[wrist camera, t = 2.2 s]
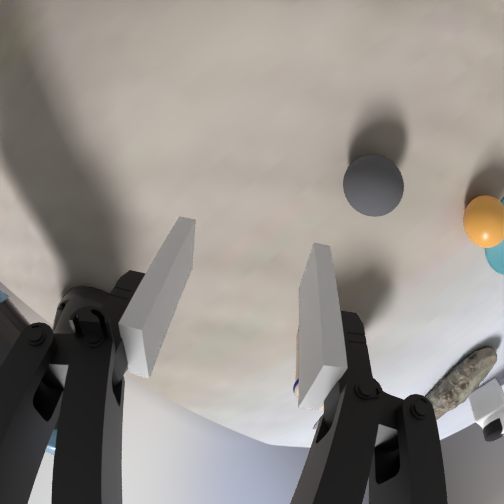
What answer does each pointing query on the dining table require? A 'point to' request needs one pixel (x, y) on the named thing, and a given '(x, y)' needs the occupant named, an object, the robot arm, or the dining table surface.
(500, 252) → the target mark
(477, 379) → the long grey stone
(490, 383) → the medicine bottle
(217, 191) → the dining table surface
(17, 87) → the dining table surface
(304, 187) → the dining table surface
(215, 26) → the dining table surface
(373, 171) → the dark grey ball
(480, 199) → the object ball
